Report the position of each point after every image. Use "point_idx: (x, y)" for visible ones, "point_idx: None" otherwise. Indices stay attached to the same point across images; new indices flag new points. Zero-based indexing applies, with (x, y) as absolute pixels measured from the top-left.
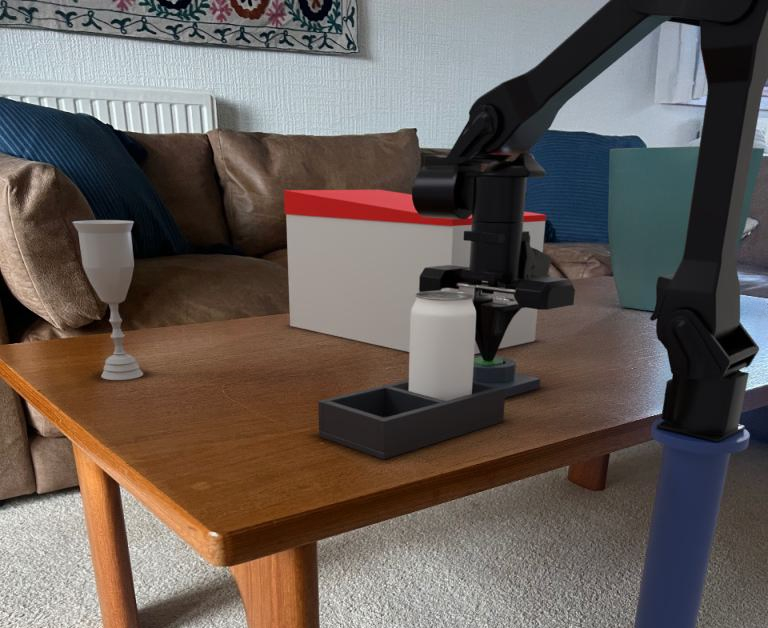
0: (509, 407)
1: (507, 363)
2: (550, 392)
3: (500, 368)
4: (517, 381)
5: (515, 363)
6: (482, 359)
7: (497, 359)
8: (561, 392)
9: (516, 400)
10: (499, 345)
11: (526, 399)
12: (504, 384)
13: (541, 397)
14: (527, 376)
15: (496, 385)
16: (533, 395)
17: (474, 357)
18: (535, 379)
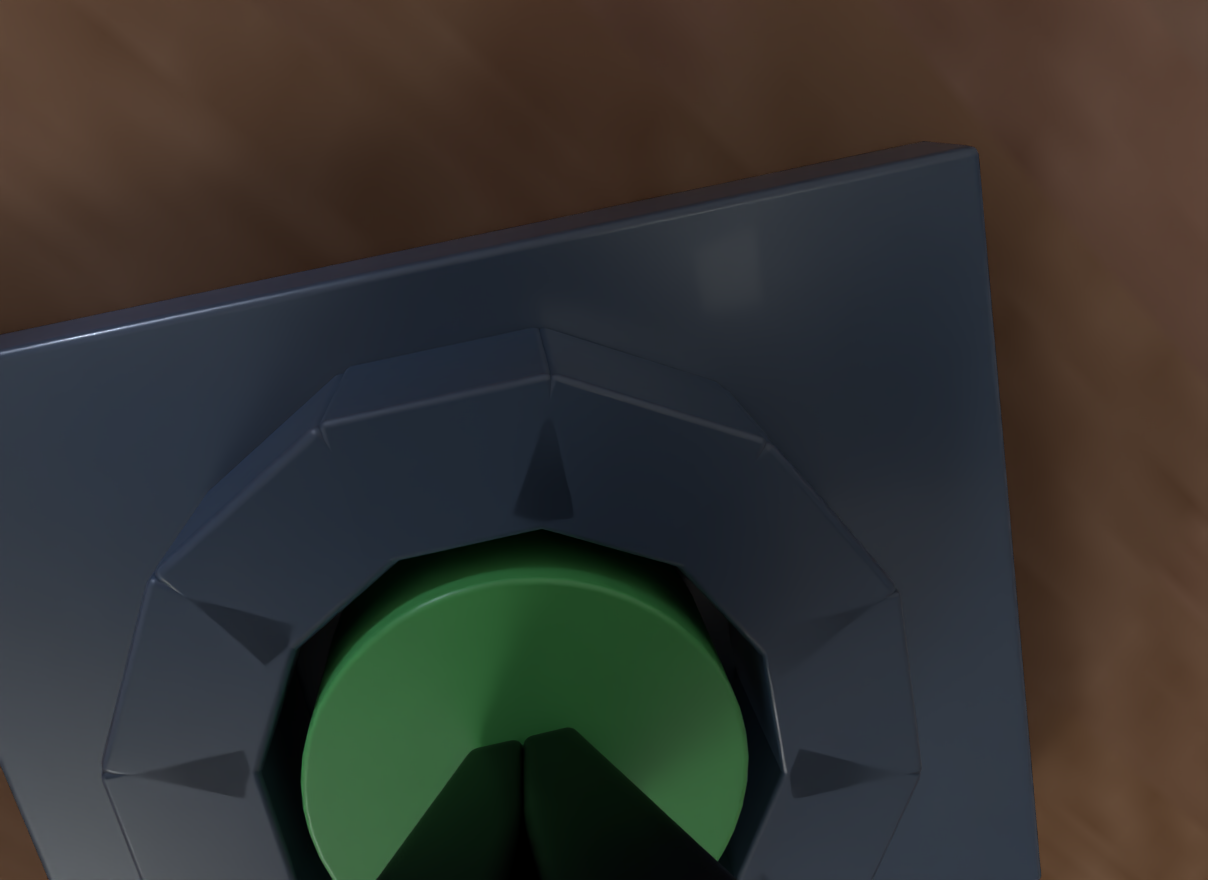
0: (1203, 857)
1: (774, 612)
2: (1116, 154)
3: (890, 819)
4: (912, 509)
5: (806, 481)
6: None
7: (561, 642)
8: (1197, 34)
9: (1095, 676)
10: (667, 817)
11: (1132, 573)
12: (923, 718)
13: (1181, 392)
14: (804, 225)
15: (905, 814)
16: (1079, 412)
17: (204, 792)
18: (974, 243)
